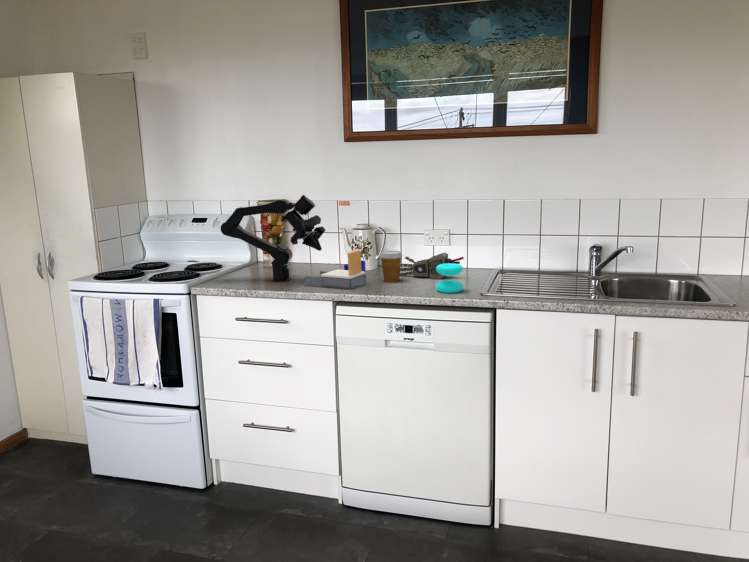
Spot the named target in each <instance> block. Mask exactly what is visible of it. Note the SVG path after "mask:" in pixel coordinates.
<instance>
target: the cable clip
mask: <svg viewBox="0 0 749 562" xmlns="http://www.w3.org/2000/svg"><path fill="white" fill-rule="evenodd" d="M343 267H344V268H343V270H348V263H347V264H344V265H343ZM361 271H364V272H366V260H361ZM366 273H367V272H366Z"/></svg>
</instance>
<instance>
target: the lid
mask: <svg viewBox="0 0 749 562" xmlns="http://www.w3.org/2000/svg"><path fill="white" fill-rule="evenodd" d="M361 252H362V251H361V250H360V249H358V250H354V251H351V252H347V264H348V270H344V269H335V270H332V271H329V272H327V273H324V274H321V277H333V278H345V279H352V278H354V277H357V276H360V275H363V274H366V275H367V272H364V271H361V261H362V253H361Z"/></svg>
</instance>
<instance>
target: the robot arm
mask: <svg viewBox="0 0 749 562" xmlns="http://www.w3.org/2000/svg"><path fill="white" fill-rule="evenodd" d="M315 207H316V204H315V203H314V202H313V200H311V199H310V198H309V197H307V196H306V195H304V194H302V195H301V197H300V198H299V199H298V200H297V201H296V202H290V201H288V199H285V198H282V199H278V200H275V201H272V202H270V203H265V204H259V205H257V204H256V205H252V206H251V205H250V206H245V207H243V206H242V207H241V206H240V207H236V208H235V209H234V211H233V212H232V214H231V215H230V216H229V217H228V218H227V220H225V222H223V223H222V224H221V225H220V233H221V234H222V235H223V236H227V237H229V238H235V239H238V240H241V241H243V242H245V243H247V244H249V245H252V246H253V247H254V248H258V249H259V250H262V251H263V252H265V253H267V254H269V255H270V257H272V259H273V260H272V261H271V263H270V264H271V266H272V275H273V276H272V278H273V279H272V280H271V281H272V282H287V281H289V280H290V279H291V268H289V262H290V261H291V259H292V258H293V251H292V249H290V247H289V246H285V245H284V244H283V243H281V242H280V243H279V244H277V245H275V244H274V243H271V242H269V241H267V240H266V239H263V238H261V237H259V236H257V235H255V234H253V233H251V232H249V231H247V230H245V229H244V228H243V226H242V225H240V224H241V223H242V220H243V218H244V217H246V216H254V215H262V214H277V215H278V214H279V215H281V220H280V221H281V223H287V222H288V224H289V225H290V226H291V227H292V232H294V233H293V234H292V236H291V237H290V242H291V244H292V245H293V246H295V245H298V243H299V241H298V240H302V245H306V246H307V247H310V248H312V249H314V250H316V251H319V252H320V251H322V246H321V243H320V240H319V239H320V238H321V237H322V236H323V234H324V233H325V232H326V228H325V227H324V226H317V225H320V224H321V221H322V220H321V218H322V217H320V216H319V215H318V214H316V215H314V216H312V217H309V218H307V219H304V218H303V217H302V216H307V215H308V214H309V213H310V212H311V211H312V210H313V209H314V208H315ZM289 210H291V211H289ZM282 214H285V215H282ZM315 226H317V227H315Z"/></svg>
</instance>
